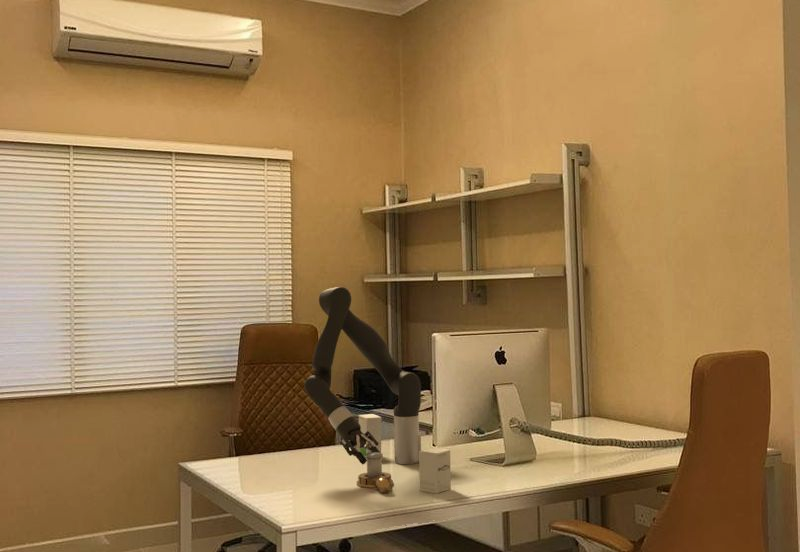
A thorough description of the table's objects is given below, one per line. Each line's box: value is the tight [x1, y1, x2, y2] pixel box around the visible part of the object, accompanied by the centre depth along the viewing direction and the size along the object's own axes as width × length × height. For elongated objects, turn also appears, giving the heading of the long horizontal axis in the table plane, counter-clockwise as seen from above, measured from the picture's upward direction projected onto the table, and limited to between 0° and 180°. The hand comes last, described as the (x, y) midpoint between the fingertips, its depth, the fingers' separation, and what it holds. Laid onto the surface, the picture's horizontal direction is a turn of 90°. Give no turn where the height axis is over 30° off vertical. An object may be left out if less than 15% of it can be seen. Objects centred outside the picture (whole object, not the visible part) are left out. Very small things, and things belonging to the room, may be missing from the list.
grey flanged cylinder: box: [366, 452, 384, 478], centre depth 276 cm, size 5×5×9 cm
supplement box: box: [418, 447, 452, 494], centre depth 267 cm, size 7×7×13 cm
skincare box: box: [358, 413, 383, 459], centre depth 324 cm, size 8×7×16 cm
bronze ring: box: [356, 471, 394, 495], centre depth 272 cm, size 12×20×4 cm, turn 16°
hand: (372, 460), depth 277 cm, fingers open, 8 cm apart
